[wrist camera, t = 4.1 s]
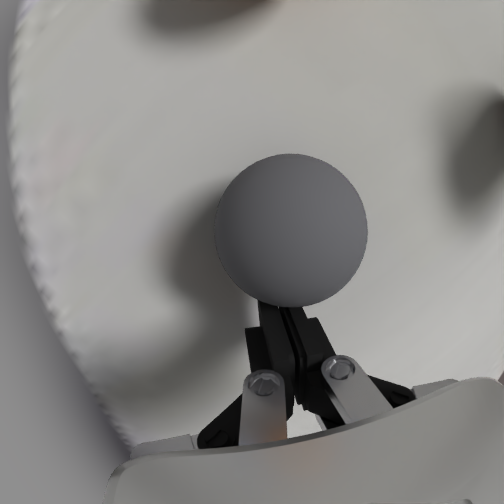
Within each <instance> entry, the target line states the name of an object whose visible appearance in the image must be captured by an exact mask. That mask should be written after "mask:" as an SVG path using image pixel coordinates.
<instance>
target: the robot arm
mask: <svg viewBox="0 0 504 504" xmlns="http://www.w3.org/2000/svg"><path fill="white" fill-rule="evenodd" d="M257 300H258V299H257ZM258 311H259V321H260V326H259V327H252V328H245V334H246V341H247V348H248V355H249V362H250V368H251V374H250V375H248V376H247V377H246V379H245V380H244V384H243V393H242V394H241V395H240V396H239V397H238V398H237V399H236V400H235V401H234V402H233V403H232V404H231V405H230V406H228V407H227V408H226V409H225V410H224V411H223V412H222V413H221V414H220V415H219V416H217V417H216V418H215V419H214V420H213V421H212V422H211V423H210V424H208V425H207V426H206V427H205V428H204V429H203V430H202V431H201V432H200V433H199V434H197V435H193V436H190V434H187V435H183V436H178V437H173V438H168V439H163V440H158V441H152V442H146V443H142V444H139V445H137V446H136V447H134V448H133V450H132V452H131V457H130V459H131V460H129V461H127V462H125V463H123V464H122V465H120V466H118V467H117V468H116V469H115V470H114V472H113V473H112V474H111V476H110V478H109V481H108V484H107V486H106V490H105V494H104V499H103V504H504V386H503V385H502V384H501V383H500V382H498V381H497V380H495V379H493V378H489V377H477V378H470V379H465V380H462V381H457V380H454V379H447V380H443V381H438V382H433V383H428V384H423V385H418V386H413V387H412V389H408V388H406V387H404V386H401V385H397V384H394V383H391V382H388V381H384V380H381V379H378V378H375V377H372V376H369V375H367V374H366V373H365V372H364V371H363V369H362V368H361V367H360V366H359V364H358V363H357V362H356V361H355V360H354V359H353V358H351V357H348V356H344V355H336V354H335V352H334V350H333V348H332V346H331V344H330V342H329V340H328V338H327V336H326V334H325V332H324V330H323V328H322V326H321V324H320V322H319V320H318V318H316V317H314V318H309V319H307V317H306V314H305V312H304V310H303V308H302V307H293V308H289V307H279V309H278V306H274V305H271V304H268V303H265V302H262V301H260V300H258ZM294 395H295V398H296V402H297V404H298V405H300V404H302V406H303V410H304V411H305V410H308V411H310V412H312V413H314V414H315V416H316V420H317V421H318V423H319V425H320V427H321V429H322V430H323V431H320V432H316V433H312V434H308V435H303V436H298V437H293V438H288V439H287V420H288V419H289V418H290V417H291V416H292V414H293V406H294Z"/></svg>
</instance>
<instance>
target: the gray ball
mask: <svg viewBox="0 0 504 504" xmlns="http://www.w3.org/2000/svg"><path fill="white" fill-rule="evenodd" d="M367 235H368V229H367V219H366V214H365V210H364V207H363V203H362V201H361V199H360V197H359V195H358V193H357V191H356V190H355V188H354V187H353V185H352V184H351V183H350V182H349V180H348V179H347V178H346V177H345V176H344V175H343V174H342V173H341V172H339V171H338V170H337V169H336V168H334V167H333V166H331V165H330V164H328V163H326V162H324V161H322V160H319V159H316V158H313V157H310V156H306V155H300V154H281V155H276V156H271V157H268V158H265V159H262V160H260V161H257V162H256V163H254V164H252V165H250V166H249V167H247V168H246V169H245V170H243V171H242V172H241V173H240V174H239V175H238V176H237V177H236V178H235V179H234V180H233V181H232V182H231V183H230V185H229V186H228V187H227V189H226V191H225V193H224V194H223V196H222V198H221V201H220V203H219V206H218V209H217V213H216V218H215V242H216V248H217V251H218V255H219V258H220V260H221V262H222V264H223V267H224V268H225V270H226V271H227V273H228V275H229V276H230V277H231V278H232V280H233V281H234V282H235V283H236V284H237V285H238V286H239V287H240V288H241V289H242V290H243V291H244V292H246V293H247V294H249V295H250V296H252V297H254V298H256V299H258V300H260V301H262V302H265V303H268V304H271V305H274V306H279V307H289V308H293V307H303V306H308V305H312V304H315V303H319V302H321V301H323V300H325V299H328V298H329V297H331V296H332V295H334V294H336V293H337V292H338V291H339V290H341V289H342V288H343V287H344V286H345V285H346V284H347V283H348V282H349V281H350V279H351V278H352V277H353V276H354V274H355V273H356V271H357V269H358V268H359V266H360V263H361V261H362V259H363V256H364V253H365V249H366V244H367Z"/></svg>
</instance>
